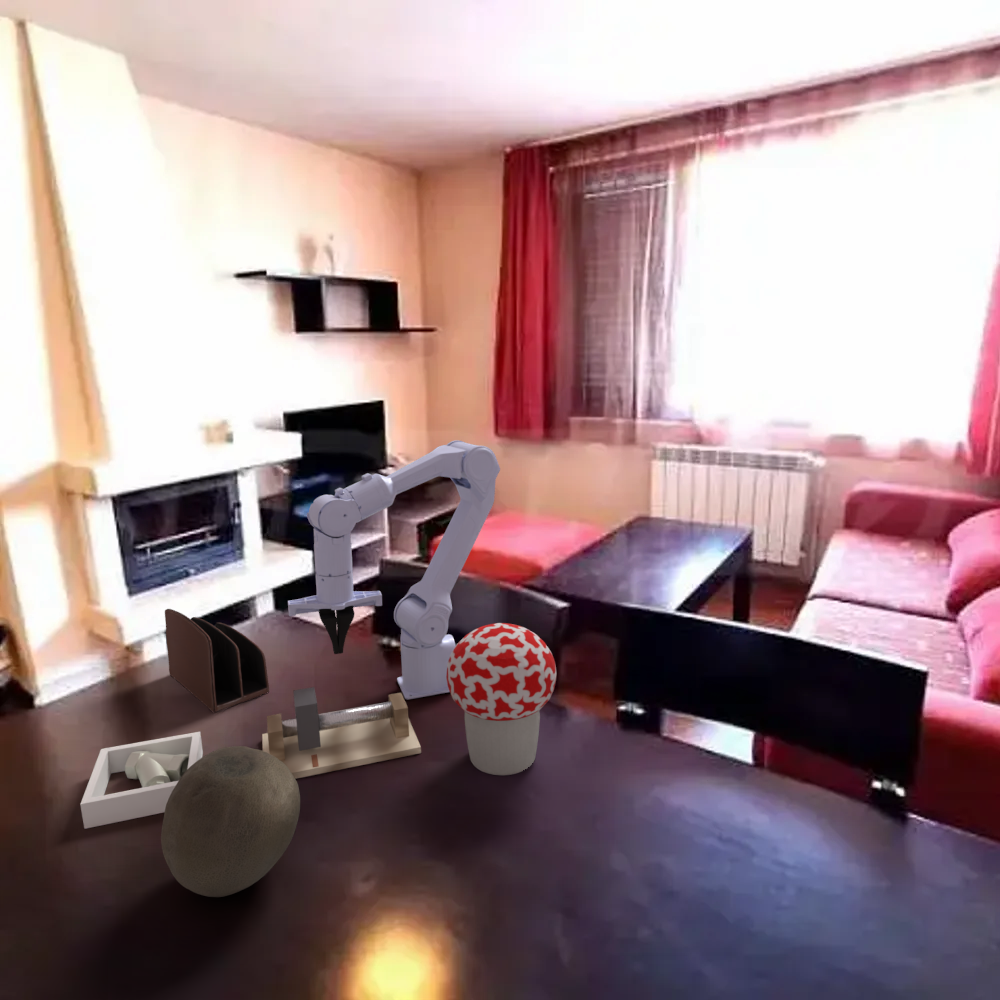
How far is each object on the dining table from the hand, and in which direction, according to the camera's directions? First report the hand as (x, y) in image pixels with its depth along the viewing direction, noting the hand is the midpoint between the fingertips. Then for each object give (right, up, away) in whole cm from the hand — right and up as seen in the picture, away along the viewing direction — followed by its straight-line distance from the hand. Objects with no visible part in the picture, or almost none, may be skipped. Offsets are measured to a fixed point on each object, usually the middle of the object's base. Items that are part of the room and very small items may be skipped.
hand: (338, 651), depth 113 cm
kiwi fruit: (-3, -19, -34) cm, 39 cm away
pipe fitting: (-22, -15, -17) cm, 31 cm away
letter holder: (-24, -9, +12) cm, 29 cm away
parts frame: (-22, -15, -17) cm, 32 cm away
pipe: (+2, -9, -9) cm, 13 cm away
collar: (-2, -11, -10) cm, 15 cm away
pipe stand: (+2, -12, -8) cm, 15 cm away
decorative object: (+27, -13, -11) cm, 32 cm away
